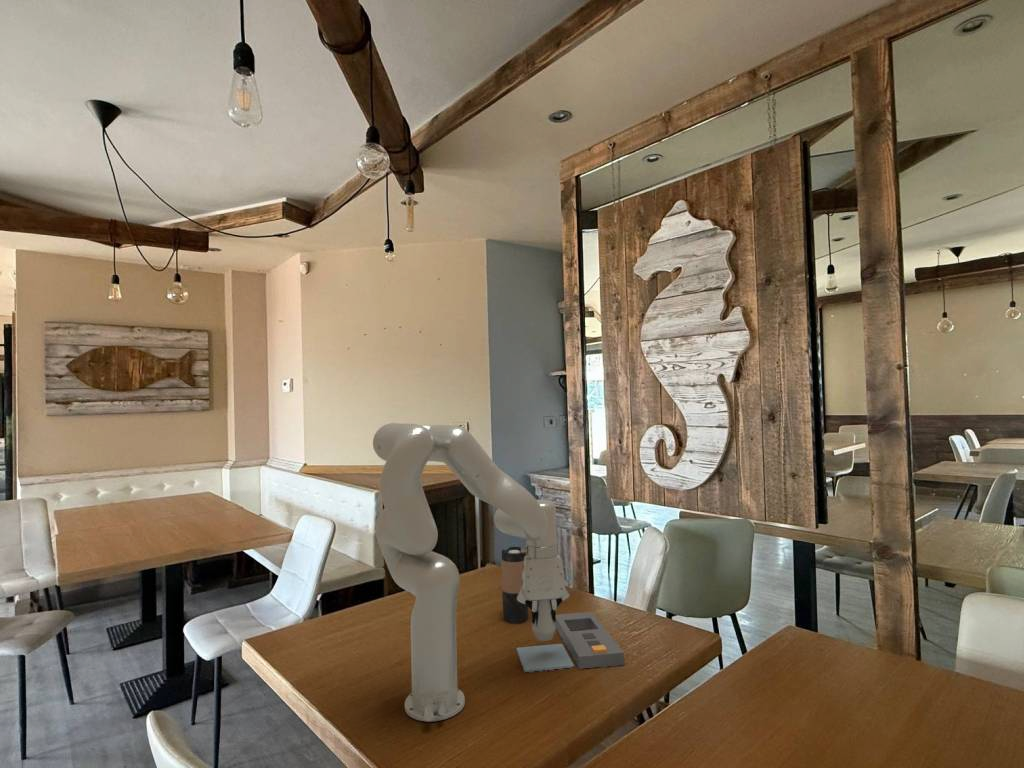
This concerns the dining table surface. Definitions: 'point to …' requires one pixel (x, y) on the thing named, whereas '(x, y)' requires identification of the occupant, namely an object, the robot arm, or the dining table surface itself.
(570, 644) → the power strip
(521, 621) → the travel mug
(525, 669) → the rubber mat
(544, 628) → the salt shaker
